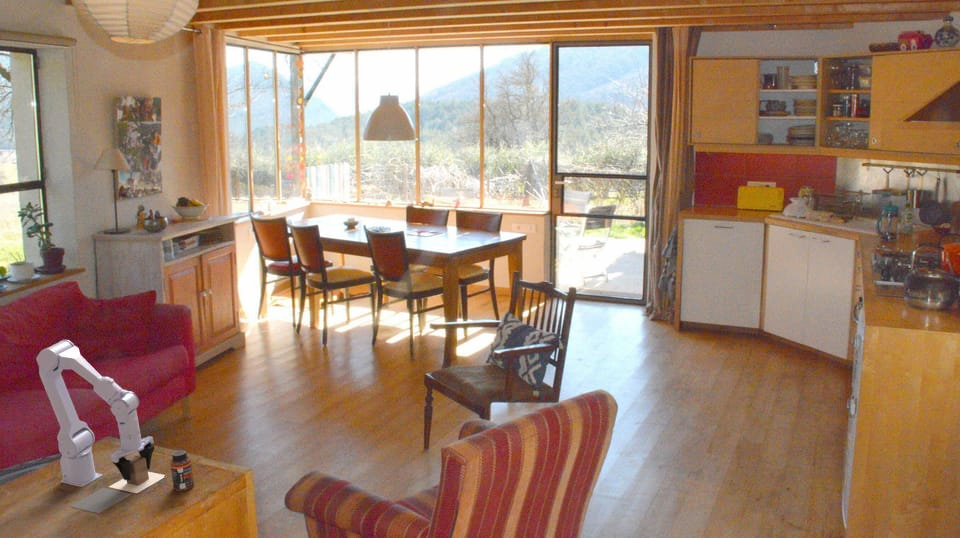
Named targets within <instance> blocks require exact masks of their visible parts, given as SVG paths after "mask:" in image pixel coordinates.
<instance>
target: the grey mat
mask: <svg viewBox="0 0 960 538" xmlns="http://www.w3.org/2000/svg"><path fill="white" fill-rule="evenodd" d="M130 496H132V493H128V492H126V491H125V492H124V491H122V490H121V491H119V490H117V489H113V488H112V489H111V488H106V487H101V488H100V489H98V490H96V491H94V492H93V493H91V494H89V495H88V496H86V497H84V498H82V499H80V500H78V501H76V502H75V503H73V504H71V505H70V506H69V507H70V508H74V509H78V510H83V511H85V512H89V513H93V514H97V515H99V514H100V513H103V512H104V511H106V510H108V509H110V508H111V507H113V506H114V505H116V504H117V503H120V502H121V501H123V500H125V499H126V498H128V497H130Z"/></svg>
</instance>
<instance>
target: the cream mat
mask: <svg viewBox="0 0 960 538" xmlns="http://www.w3.org/2000/svg"><path fill="white" fill-rule="evenodd" d="M148 475H149V479H148V480H146V481H145V482H143V483H141V484H139V485H138V486H137V485H133V484H128V483H127V480H124V479H123V478H121V479H120V480H118V481H117V482H115V483H113V484H111V485H109V486H108V488H110V489H111V488H112V489H114V490H121V491H123V492H124V491H125V492H130V493H133V494H134V493H135V494H138V493H141V492H142V491H143V490H145V489H147V488H149V487H150V486H152V485H154V484H155V483H157V482H159V481H161V480H162V479H163V478H164V479H165V477H164V476H165V475H166V474H163V473H157V472H153V471H148Z"/></svg>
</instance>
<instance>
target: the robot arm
mask: <svg viewBox="0 0 960 538" xmlns="http://www.w3.org/2000/svg"><path fill="white" fill-rule="evenodd" d="M35 359H36V362H37V366H38V373H39V377H40V380H41V382H42V385H43V386H44V387H43V388H44V389H45V392H46V395H47V398H48V399H49V401H50V405H51V407H52V410H53V412H54V415H55V417H56V419H57V423H58V425H59V427H60V429H59V431H58V434H57V436H56V438H57V441H58V450H59V453H60V454H61V458H60V460H59V461H60V462H59V463H60V469H61V475H62V480H61V481H60V482H61V483H62V484H67V485H70V486H76V487H79V488H80V487H81V488H83V487H85V486H86V485H89V484H90V483H93V482H94V481H95V480H98V479H100V478H101V477H103V474H102V473H99V472H96V469H95V468H96V467H95V464H94V463H95V462H94V456H93V451H92V449H93V444H94V443H95V441H96V440H95V439H96V438H95V434H94V432H93V430H91V428H90V427H89V426H88V423H87V422H85V421H82V420H80V418H79V416H78V413H77V411H76V408H75V405H74V404H73V401H72V398H71V396H70V394H69V391H68V388H67V386H66V383H65V380H64V378H63V376H62V372H63V370H72V371H73V372H75V373H76V374H77V375H78V376H80V377H81V378H83V379H84V380H86V381H87V382H88V383H90V384H91V385H93V391H94V393H96V394H97V396H99V397H100V398H101V399H102V400H104V401H105V402H106V403H107V404H108V405H109V406H110V408H109V410H110V411H111V413H112V414H113V415H114V416H115V417H114V418H115V421H116V422H117V427H118V431H119V438H120V443H121V447H120V448H119V449H118V450H117V451H116V452H115V453H113V454H112V455H110V461H111V462H112V464H113V465H114V466H115V467H116V468H117V469H118V471H119V472H120V475H121V476H122V479H124V480H127V481H129V480H130V460H128V459H127V458H126V457H127V456H130V455H132V454H133V453H136V452H138V453H139V457H144V458H146V463H147V469H148V470H150V469H151V463H152V462H151V461H152V457H153V454H154V450H155V445H154V437H153V436H149V435H148V436H146V437H143V438H142V435H141V434H142V433H141V429H140V423H139V418H138V412H137V411H138V410H137V408H138V407H139V405H140V400H139V398H138V397H139V396H138V395H137V394H136V393H135V392H133V391H129V390H127V389H123V388H122V387H121V386H119V384H118V383H116V382H115V380H114V378H113V377H110V376H103V375H101V374H100V373H99V372H98V371H97V370H96V369H95V368H94V367H93V366H92V365H91V364H90V363H89V362H88V361H87V360H86V358H84V357H83V356H82V354H81V353H80V349H79V347H78V346H76V345H75V343H73V342H72V341H71V340H69V339H62V340H60V341H59V342H57V343H55V344H52V345H51V346H49V347H46V348H44V349H41V350H40V351H39V353H38V355H37V357H36V358H35Z"/></svg>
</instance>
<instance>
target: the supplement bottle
mask: <svg viewBox="0 0 960 538" xmlns="http://www.w3.org/2000/svg"><path fill="white" fill-rule="evenodd" d="M171 455H172V459H171V460H170V463H169V465H170V473H171V480H172V487H173V489H174V491H176V492H188V491H189V490H191V489H192V488H194V486H195V478H194V474H193V466H192V465H193V464H192V460H191V458H190V456H188V454H187V451H186V450H184V449H183V450H182V449H180V450H175V451H173V452H172V454H171Z"/></svg>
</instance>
